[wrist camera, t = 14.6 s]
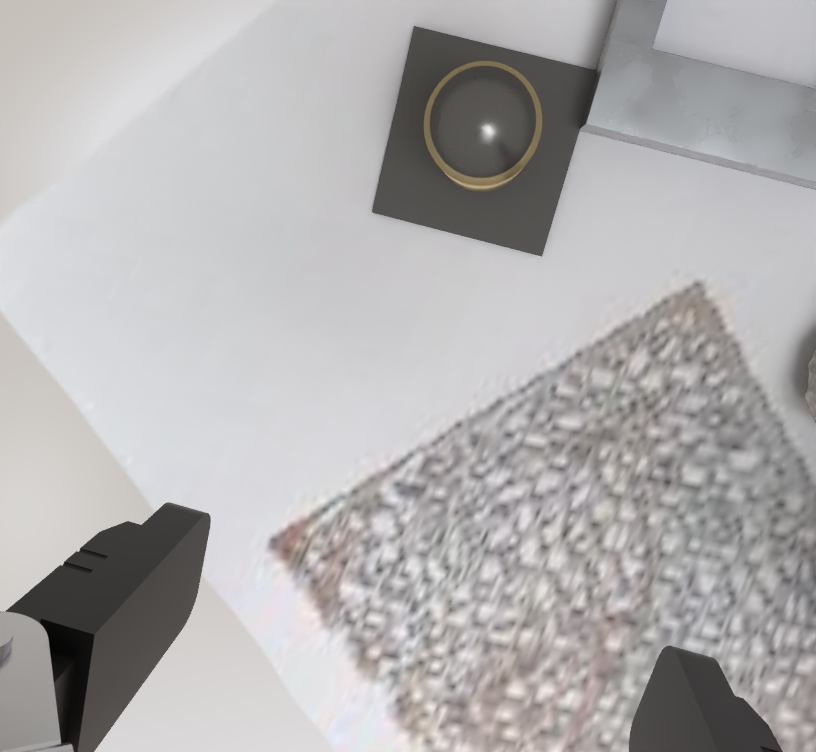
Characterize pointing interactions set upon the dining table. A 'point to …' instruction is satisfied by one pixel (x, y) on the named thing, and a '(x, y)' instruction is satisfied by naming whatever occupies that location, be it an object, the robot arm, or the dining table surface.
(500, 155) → the tan cylinder
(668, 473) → the dining table surface
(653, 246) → the dining table surface
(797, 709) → the dining table surface
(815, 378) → the mineral
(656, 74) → the block
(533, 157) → the mat
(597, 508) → the dining table surface
